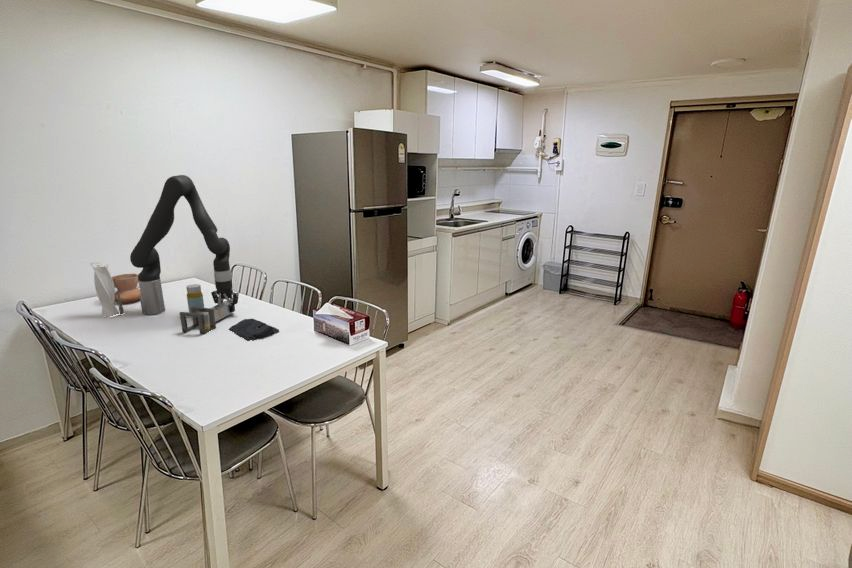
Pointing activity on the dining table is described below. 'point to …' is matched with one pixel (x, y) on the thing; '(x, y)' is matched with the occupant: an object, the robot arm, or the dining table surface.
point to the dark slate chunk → (253, 329)
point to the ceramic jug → (127, 287)
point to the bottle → (194, 297)
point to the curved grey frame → (198, 320)
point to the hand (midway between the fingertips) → (227, 311)
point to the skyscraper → (106, 290)
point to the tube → (218, 312)
